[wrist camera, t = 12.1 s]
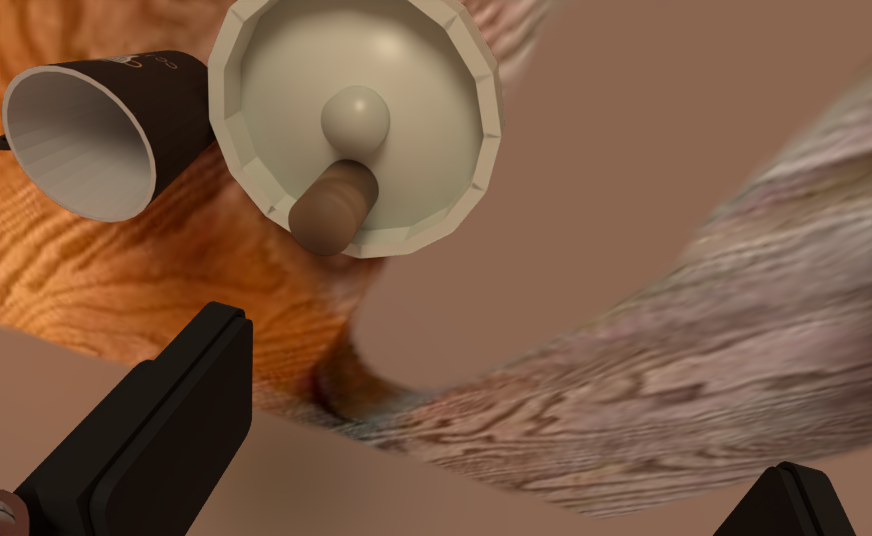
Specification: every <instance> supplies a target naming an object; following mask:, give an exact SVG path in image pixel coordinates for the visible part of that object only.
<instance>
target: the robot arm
mask: <svg viewBox="0 0 872 536" xmlns="http://www.w3.org/2000/svg"><path fill="white" fill-rule="evenodd" d="M252 364H253V322H252V320H249V319H246V318H245V312H244V310H242V309H240V308H236V307H233V306H229V305H225V304H222V303H218V302H215V301H212V302H209V303H208V304H207V305H206V306H205V307H204V308H203V309H202V310H201V311H200V312H199V313H198V314H197V315H196V316H195V317H194V318H193V319H192V320H191V322H190V323H189V324H188V325H187V326H186V327H185V328H184V329H183V330H182V331H181V332H180V333H179V334H178V335H177V336H176V338H175V339H174V340H173V341H172V342H171V343H170V344H169V345H168V346H167V347H166V348H165V349H164V350H163V351H162V352H161V353H160V355H159V356H158V357H157V358H156V359H155V360H145V361H143V362H140V363H139V364H138V365H137V366H136V367H134V368H133V369H132V370H131V371H130V372H129V373H128V374H127V375H126V376H125V377H124V378H123V380H121V382H120V383H119V384H118V385H117V386H116V387H115V388H114V389H113V390H112V391H111V392H110V393H109V394H108V395H107V396H106V397H105V398H104V399H103V400H102V401H101V402H100V403H99V404H98V405H97V406H96V407H95V408H94V410H92V412H90V413H89V415H88V416H87V417H86V418H85V419H84V420H83V421H82V422H81V423H80V424H79V425H78V426H77V427H76V428H75V429H74V430H73V431H72V432H71V433H70V434H69V435H68V436H67V437H66V438H65V439H64V440H63V441H62V442H61V444H59V446H58V447H57V448H56V449H55V450H54V451H53V452H52V453H51V454H50V455H49V456H48V457H47V458H46V459H45V460H44V461H43V462H42V463H41V464H40V465H39V466H38V467H37V468H36V469H35V470H34V471H33V472H32V473H31V474H30V476H28V477H27V478H26V480H25V481H24V482H23V483H22V484H21V485H20V486H19V487H18V488H17V489H16V490H15V491H14V492H13V493H11V492H8V491H6V490H3V489H0V536H185V535H186V533H187V531H188V530H189V528H190V526H191V525H192V523H193V522H194V520H195V518H196V517H197V515H198V514H199V512H200V510H201V509H202V507H203V506H204V504H205V502H206V501H207V499H208V497H209V496H210V494H211V492H212V491H213V489H214V488H215V486H216V485H217V483H218V481H219V480H220V478H221V477H222V475H223V473H224V472H225V470H226V468H227V467H228V465H229V464H230V462H231V460H232V459H233V457H234V456H235V454H236V452H237V451H238V449H239V448H240V446H241V444H242V442H243V441H244V439H245V438H246V436H247V434H248V431H249V429H250V426H251V421H252ZM713 536H856V534H855V532H854V530H853V528H852V526H851V524H850V522H849V520H848V518H847V516H846V513H845V512H844V509H843V507H842V505H841V503H840V501H839V499H838V497H837V494H836V492H835V490H834V488H833V486H832V484H831V482H830V480H829V478H828V477H827V475H826V474H825V473H823V472H822V471H819V470H816V469H812V468H809V467H805V466H802V465H798V464H794V463H791V462H786V461H784V462H781V463H780V464H778V465H777V466H776V467H773V466H772V467H769V468H767V469H766V470H765V471H764V473H763V474H762V475H761V476H760V478H759V479H758V480H757V481H756V483H755V484H754V485H753V486H752V488H751V489H750V490H749V492H748V493H747V494H746V495H745V496H744V498H743V499H742V500H741V501H740V503H739V504H738V505H737V506H736V507H735V509H734V510H733V511H732V512H731V514H730V515H729V516H728V517H727V519H726V520H725V521H724V522H723V524H722V525H721V526H720V527H719V528H718V530H717V531H716V532H715V533H714V535H713Z"/></svg>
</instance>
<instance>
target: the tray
mask: <svg viewBox="0 0 872 536" xmlns="http://www.w3.org/2000/svg"><path fill="white" fill-rule="evenodd" d="M208 92H209V120H210V123H211V125H212V128H213V131H214V133H215V136H216V138H217V141H218V143H219V146H220V148H221V151H222V153H223V156H224V159H225V161H226V164H227V166H228V169H229V171H230V173H231V175H232V176H233V177H234V178H235V179H236V181H237V182H238V183H239V184H240V185H241V187H242V188H243V189H244V190H245V192H246V193H247V194H248V195H249V196H250V198H251V199H252V200H253V201H254V203H255V204H256V205H257V206H258V207H259V209H260V210H261V211H262V212H263V213H264V215H265V216H266V217H268V218H269V219H271V220H273V221H274V222H276V223H277V224H279V225H280V226H282V227H283V228H285V229H286V230H288V231H289V232H291V231H290V229H289V225H288V215H289V211H290V209H291V207H292V206H293V205H294V203H295V202H296V201H297V200H298V199H299V198H300V197H301V196H302V195H303V194H304V193H305V191H306V190H307V189H308V188H309V187H310V186H311V185H312V184H313V183H314V182H315V181H316V180H317V178H318V177H319V176H320V175H321V174H322V173H323V172H324V171H325V170H326V169H327V168H328V167H329V166H330V165H331V164H332V163H334V162H335V161H338V160H342V159H350V160H355V161H358V162H360V163H362V164H364V165H365V166H366V167H368V168H369V169H370V170H371V171H372V173H373V174H374V176H375V177H376V180H377V182H378V186H379V195H378V199H377V201H376V203H375V204H374V206H373V208H372V209H371V211H370V212H369V214H368V215H367V217H366V219H365V220H364V222H363V223H362V225H361V226H360V228H359V230H358V231H357V233H356V234H355V236H354V237H353V239H352V241H351V242H350V244H349V245H348V247H347V248H346V249H345V250H344V251H342V252H341V254H345V255H349V256H352V257H356V258H372V257H384V256H396V255H408V254H411V253H413V252H415V251H417V250H419V249H421V248H423V247H425V246H427V245H429V244H431V243H433V242H435V241H437V240H439V239H441V238H443V237H445V236H447V235H449V234H451V233H453V232H454V231H455V230H456V229H457V227H458V226H459V225H460V224H461V222H462V221H463V220H464V219H465V218H466V216H467V215H468V214H469V213H470V211H471V210H472V209H473V208H474V207H475V205H476V204H477V203H478V202H479V200H480V199H481V198H482V197H483V196H484V194H485V193H486V192H487V188H488V185H489V181H490V177H491V174H492V170H493V166H494V163H495V159H496V155H497V152H498V148H499V144H500V141H501V137H502V133H503V129H504V125H505V116H504V108H503V101H502V93H501V86H500V78H499V71H498V63H497V61H496V59H495V57H494V56H493V54H492V52H491V50H490V49H489V47H488V45H487V43H486V42H485V40H484V38H483V36H482V35H481V33H480V31H479V29H478V28H477V26H476V24H475V22H474V21H473V19H472V17H471V15H470V14H469V12H468V10H467V8H466V7H465V6H464V5H463V4H461V3H460V2H459V1H457V0H238V1H237V2H235V3H234V4H233V5H232V6H231V7H230V8H229V10H228V12H227V15H226V17H225V20H224V22H223V25H222V27H221V30H220V32H219V35H218V37H217V40H216V42H215V45H214V47H213V50H212V52H211V55H210V57H209V60H208Z"/></svg>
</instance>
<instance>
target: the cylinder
mask: <svg viewBox="0 0 872 536" xmlns="http://www.w3.org/2000/svg"><path fill="white" fill-rule="evenodd" d="M378 195H379V186H378V182H377V180H376V177H375V176H374V174H373V173H372V171H371V170H370V169H369V168H368V167H366V166H365V165H364V164H362V163H360V162H358V161H355V160H350V159H342V160H338V161H335V162H334V163H332V164H331V165H330V166H329V167H328V168H327V169H326V170H325V171H324V172H323V173H322V174H321V175H320V176H319V177H318V178H317V180H316V181H315V182H314V183H313V184H312V185H311V186H310V187H309V188H308V189H307V190H306V191H305V193H304V194H303V195H302V196H301V197H300V198H299V199H298V200H297V201H296V202H295V203H294V205H293V206H292V207H291V209H290V211H289V215H288V225H289V229H290V231H291V234H292V235H293V237H294V239H295V240H296V241H297V242H298V243H299V244H300V245H301V246H302V247H303V248H304V249H306V250H308V251H309V252H312V253H314V254H317V255H321V256H332V255H336V254H338V253H341V252H342V251H344V250H345V249H346V248H347V247H348V245H349V244H350V242H351V241H352V239H353V237H354V236H355V234H356V233H357V231H358V230H359V228H360V226H361V225H362V223H363V222H364V220H365V219H366V217H367V215H368V214H369V212H370V211H371V209H372V208H373V206H374V204H375V203H376V201H377V199H378Z"/></svg>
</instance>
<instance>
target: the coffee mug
mask: <svg viewBox="0 0 872 536" xmlns="http://www.w3.org/2000/svg"><path fill="white" fill-rule="evenodd" d="M2 122H3V127H4V131H5V134H4V135H2V136H0V150H12V153H13V155H14V156H15V158H16V160H17V161H18V163H19V165H20V166H21V168H22V169H23V170H24V172H25V173H26V174H27V176H28V177H29V178H30V179H31V181H32V182H33V183H34V184H35V185H36V186H37V187H38V188H39V189H40V190H41V191H42V192H43V193H44V194H46V195H47V196H48V197H49V198H51V199H52V200H53V201H54V202H56V203H57V204H59V205H60V206H62V207H64V208H65V209H67V210H69V211H70V212H72V213H75V214H77V215H79V216H82V217H84V218H87V219H91V220H95V221H100V222H119V221H125V220H127V219H130V218H133V217H135V216H136V215H138V214H139V213H140V212H142V211H143V210H144V209H145V208H146V207H147V206H148V205H149V204H150V203H151V202H152V201H153V200H154V199H155V198H156V197H157V196H158V195H159V194H160V193H161V192H162V191H163V190H164V189H165V188H166V187H167V186H168V185H170V184H171V183H172V182H173V181H174V180H175V179H176V178H177V177H178V176H179V175H180V174H181V173H182V172H183V171H184V170H185V169H186V168H187V167H188V166H189V165H190V164H191V163H192V162H193V161H194V160H195V159H196V158H197V157H198V156H199V155H200V154H201V153H202V152H203V151H204V150H205V149H206V148H207V147H208V146H209V145H210V144H211V143H212V142H213V141H214V140H215V139H216V136H215V133H214V131H213V128H212V125H211V123H210V120H209V92H208V67H206V66H205V65H204V64H203V63H202V62H201V61H199V60H198V59H196V58H195V57H193V56H191V55H188V54H186V53H183V52H179V51H169V50H167V51H158V52H150V53H141V54H133V55H125V56H116V57H108V58H99V59H91V60H83V61H74V62H66V63H57V64H49V65H41V66H37V67H32V68H28V69H27V70H25V71H23V72H21V73H20V74H18V75H17V76H16V77H15V78H14V79H13V80H12V81H11V82H10V84H9V85H8V88H7V90H6V92H5V94H4V98H3V104H2Z"/></svg>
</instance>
